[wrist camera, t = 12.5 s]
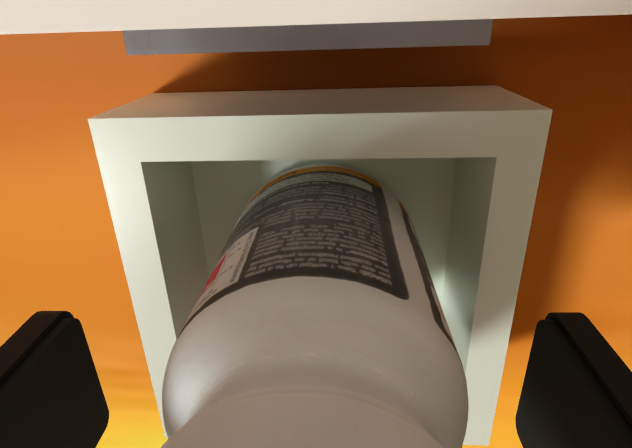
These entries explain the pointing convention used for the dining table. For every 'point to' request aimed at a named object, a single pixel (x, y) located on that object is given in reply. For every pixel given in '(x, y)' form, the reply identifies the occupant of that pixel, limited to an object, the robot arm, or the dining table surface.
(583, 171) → the dining table surface
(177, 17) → the board
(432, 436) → the pill bottle
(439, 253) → the pale green square tray
